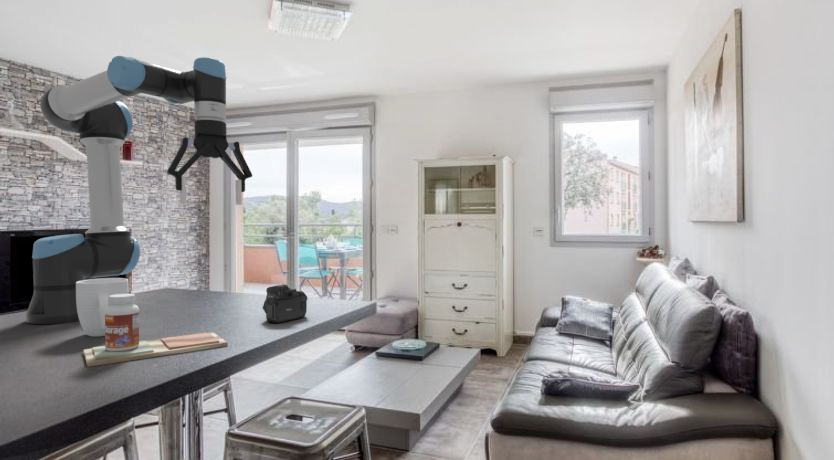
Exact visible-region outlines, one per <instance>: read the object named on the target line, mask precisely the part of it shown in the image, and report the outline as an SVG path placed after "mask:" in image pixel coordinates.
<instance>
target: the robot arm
mask: <svg viewBox="0 0 834 460" xmlns="http://www.w3.org/2000/svg"><path fill="white" fill-rule="evenodd" d="M226 75H227V74H226V65H225V63H224V62H223V61H222V60H219V59H217V58H213V57H205V56H204V57H203V56H202V57H197V58H195V60H194V62H193V67H192V70H189V71H185V72H184V71H179V70H177V69H176V70H175V69H173V68H168V67H164V66H162V65H157V64H154V63H150V62H146V61H144V60H140V59H137V58H135V57H132V56H131V57H129V56H123V55H116V56H113V58H112V59H111V61H109V63H108V65H107V69H106V70H104V71H102V72H99V73H97V74H94V75H92V76H90V77H86V78H84V79H82V80H79V81H77V82H74V83H72V84H69V85H67V84H60V85H59V84H58V85H56V86H54V87H51V88H49V89H47V90H46V91H45V92H44V93H43V95H42V97H41V99H40V102H39V105H40V110H41V113H42V115H43V117H44V118H45V120H47V122H48V123H50V124H51V125H52V126H53V127H56V128H57V129H59V130H62V131H64V132H68V133H69V132H70V133H77V134H79V142H80V143H81V144H82V145H84V146H85V149H86V165H87V166H86V167H87V169H86V170H87V181H88V183H87V184H88V198H89V199H88V200H89V217H90V227H89V228H88V230H86V231H85V232H84V234H85V235H84V234H82V233H72V234H71V233H70V234H61V235H54V236H53V235H52V236H46V237H42V238H39V239H37V240H36V241H34V243H33V244H32V245H33V247H32V254H31V255H32V256H31V258H32V273H33V274H32V279H33V294H32V297H31V301H30V303H29V306H28V309H27V311H26V314H25V316H26V317H25V318H26V319H25V321H26V324H31V325H51V324H52V325H54V324H63V323H64V324H65V323H70V322H72V323H73V322H77V321H79V318H78V313H77V304H76V282H78V281H82V280H87V279H98V278H107V277H119V276H120V275H121V276H122V275H123V276H124V275H127V274H130V273H131V272H132V271H134V269H135V268H136V266H137V265H138V263H139V261H140V256H141V247H140V244H139V242H138V241H139V240H137V239H136V238H135V237H133V236H131V230H130V229H128V228H127V227H126V226H125V220H124V204H123V203H124V201H123V187H122V186H123V185H122V184H123V183H122V169H121V152H120V151H121V150H120V148H121V147H122V146H123V145H124V144H125V142H126V139H127V138H129V136H130V135H131V134H132V130H133V125H134V123H133V122H134V121H133V117H132V114H131V110H130V109H129V107H128V106H126V105H125V103H123V102H122V100H126V99H127V98H131V97H133V96H137V95H140V94H144V95H149V96H153V97H157V98H163V99H164V100H165V101H166V102H168V103H170V104H172V105H175V104H178V105H184V104H187V103H190V102H191V103H192V102H194V104H193V105H194V108H193V109H194V111H193V112H194V119H195V121H194V138H193V139H190V138H188V137H186V136H185V137H183V138H181V139H180V145H179V146H180V147H179V149H178V151H177V152H176V154H175V156H174V158H173V160H172V162H171V163H170V165H169V167H168V169H167V171H166V174H167V175H169V176H173V177H174V178H175V179H174V180H175V181H174V182H175V191H179V203H180V205H186V204H187V202H186V201H187V200H186V194H187V193H186V177H185V176H184V177H183V175H184V174H185V173H186V172H187V171H188V170H189V169H190V168H191V167H192V166H193V165H194V164H195V163H196V162H197V160H199V158H201V157H202V158H205V159H207V158H212V159H219V158H220V159H221V161H223V162H224V164H225V165H226V166H227V167H228V168H229V169H230V171H231V172H232V173H233V174H234V175H235V177H236V178H237V179H235V185H234V186H235V205H236V206H237V205H239V206H240V205H242V203H243V202H242V193H244V192H245V191H246V180H247V179H250V178H252V177H253V174H252V171H251V169H250V167H249V166H248V163H247V161H246V159H245V157H244V155H243V154H242V151H241V147H240V142H238V141H234V142H228V140H227V123H226V122H225V121H227V76H226ZM191 145H193V147H194V148H195V149H196V151H195V152H194V153H193V154H192V155H191V157H190V158H188V160H187V161H186V162H185V163H184V164H183V165H182V166H181V167H180V168H179V169H178V170H177V168H178V166H179V164H180V162H181V161H182V158H183V156H184V155H185V153H186V151H187V149H188V148H190V147H191ZM228 148H229V149H230V151H232V153H233V156H234V157H235V159H236V161H237V164H238V166H239V167H240V168H239V167H238V166H237V165H236V163H235V162H234V161H233V159H231V157H230V155H229V154H228V152H226V150H227V149H228ZM84 236H85V237H84Z"/></svg>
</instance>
